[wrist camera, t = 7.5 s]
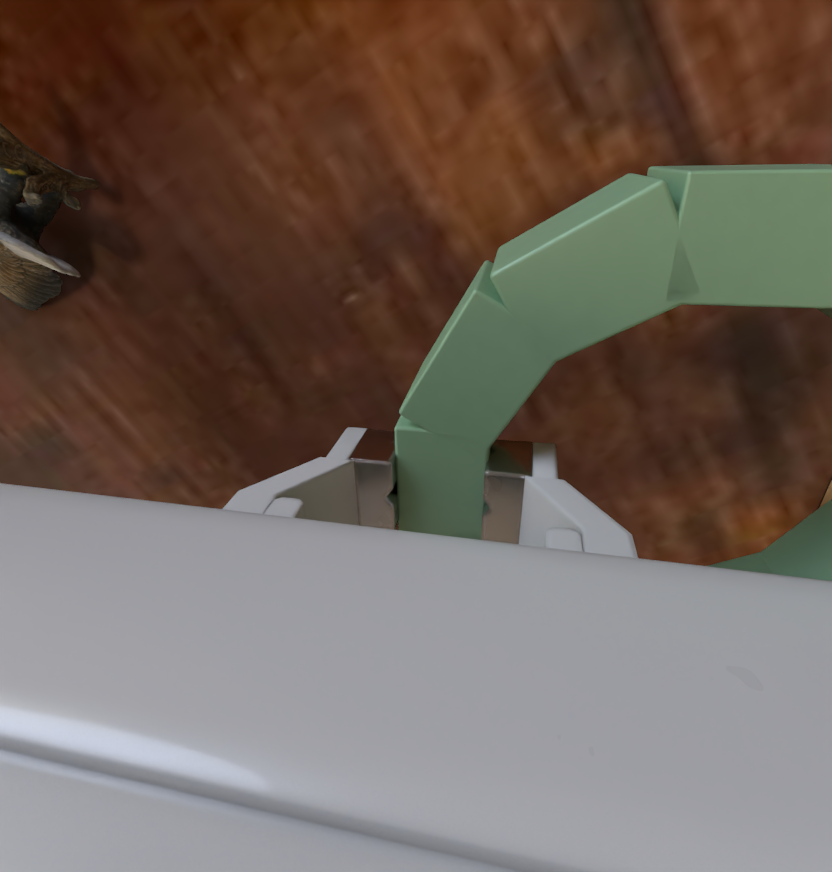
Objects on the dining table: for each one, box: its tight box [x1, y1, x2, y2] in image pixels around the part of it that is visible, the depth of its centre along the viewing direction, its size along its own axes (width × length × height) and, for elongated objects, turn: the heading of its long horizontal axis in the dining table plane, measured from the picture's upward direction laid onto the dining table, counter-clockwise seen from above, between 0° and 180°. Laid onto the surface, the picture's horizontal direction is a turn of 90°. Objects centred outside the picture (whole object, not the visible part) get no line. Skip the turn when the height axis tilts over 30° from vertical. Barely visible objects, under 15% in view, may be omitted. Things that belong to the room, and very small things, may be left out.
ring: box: [394, 164, 832, 581], centre depth 12 cm, size 12×12×3 cm
